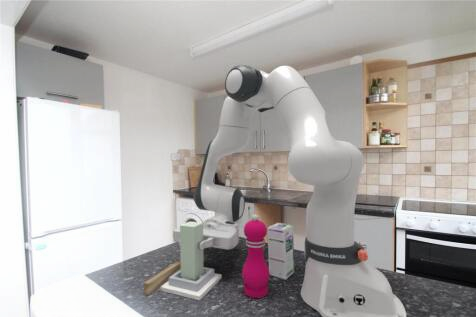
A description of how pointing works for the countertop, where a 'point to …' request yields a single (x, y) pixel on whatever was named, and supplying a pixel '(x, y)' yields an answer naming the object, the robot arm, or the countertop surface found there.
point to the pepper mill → (255, 260)
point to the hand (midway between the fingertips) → (190, 244)
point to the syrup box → (281, 250)
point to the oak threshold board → (161, 278)
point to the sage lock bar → (191, 250)
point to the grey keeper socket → (191, 284)
